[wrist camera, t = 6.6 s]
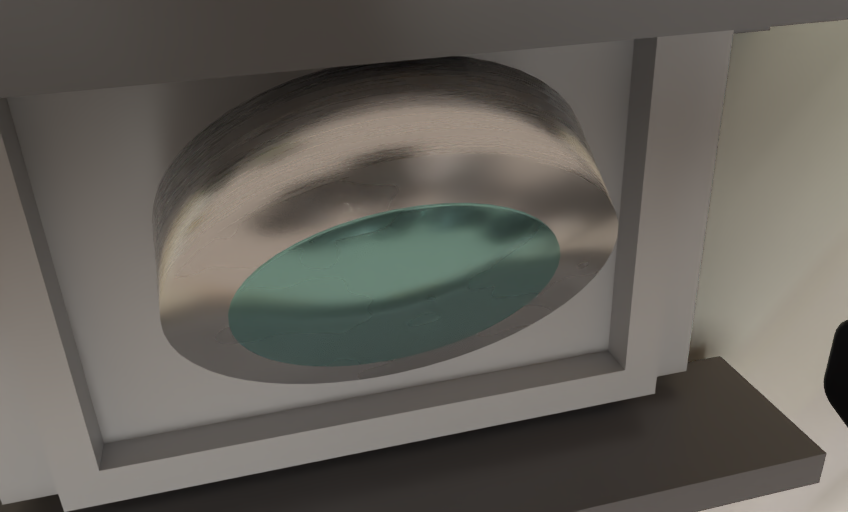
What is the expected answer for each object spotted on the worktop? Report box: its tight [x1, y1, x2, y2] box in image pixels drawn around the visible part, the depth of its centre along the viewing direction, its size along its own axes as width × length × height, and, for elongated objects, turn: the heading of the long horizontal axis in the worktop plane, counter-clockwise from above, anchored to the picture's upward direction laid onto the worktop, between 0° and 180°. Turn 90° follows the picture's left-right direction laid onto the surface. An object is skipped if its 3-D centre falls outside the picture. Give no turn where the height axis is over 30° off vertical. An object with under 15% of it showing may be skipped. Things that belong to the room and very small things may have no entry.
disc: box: [152, 56, 618, 384], centre depth 12 cm, size 7×7×2 cm
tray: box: [0, 30, 826, 512], centre depth 14 cm, size 18×13×4 cm
